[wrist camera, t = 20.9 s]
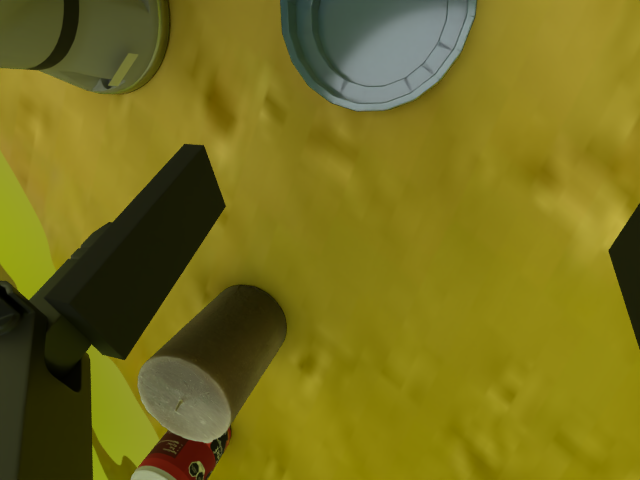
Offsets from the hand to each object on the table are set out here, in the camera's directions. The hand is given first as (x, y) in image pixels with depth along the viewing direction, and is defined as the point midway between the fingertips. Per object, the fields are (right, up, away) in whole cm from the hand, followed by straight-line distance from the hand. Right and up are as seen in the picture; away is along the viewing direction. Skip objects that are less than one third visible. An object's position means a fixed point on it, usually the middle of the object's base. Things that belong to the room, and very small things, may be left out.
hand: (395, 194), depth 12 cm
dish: (+3, +17, +19) cm, 26 cm away
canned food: (-18, -28, +43) cm, 55 cm away
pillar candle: (-11, -11, +34) cm, 38 cm away
